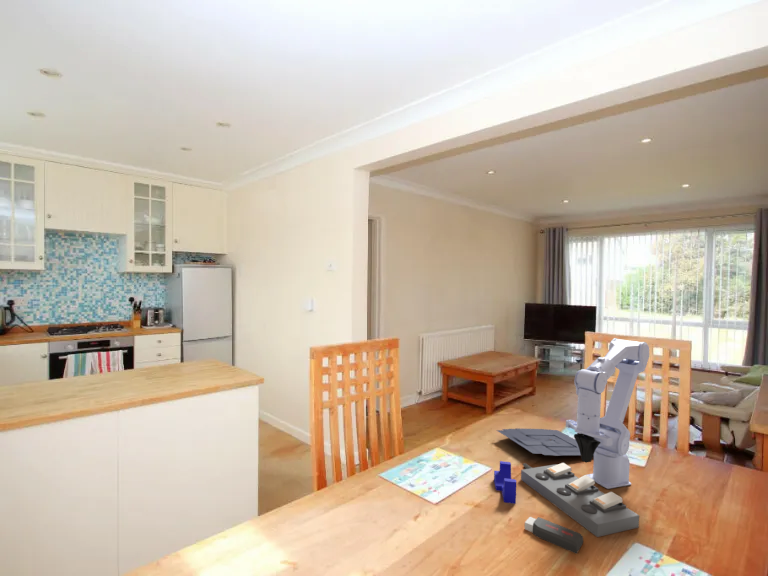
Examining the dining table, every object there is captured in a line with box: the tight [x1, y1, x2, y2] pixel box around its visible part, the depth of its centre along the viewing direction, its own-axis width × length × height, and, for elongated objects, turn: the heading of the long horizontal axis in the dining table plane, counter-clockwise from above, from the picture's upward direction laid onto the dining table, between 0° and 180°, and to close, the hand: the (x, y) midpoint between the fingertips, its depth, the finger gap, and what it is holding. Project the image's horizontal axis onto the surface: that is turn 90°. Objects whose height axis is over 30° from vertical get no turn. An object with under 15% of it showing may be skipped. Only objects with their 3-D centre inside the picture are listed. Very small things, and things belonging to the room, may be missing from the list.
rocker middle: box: [569, 474, 596, 492], centre depth 112 cm, size 6×3×1 cm, turn 109°
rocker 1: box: [547, 462, 572, 477], centre depth 120 cm, size 6×3×1 cm, turn 109°
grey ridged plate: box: [496, 427, 594, 457], centre depth 146 cm, size 24×30×4 cm
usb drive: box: [524, 516, 584, 554], centre depth 96 cm, size 5×12×3 cm, turn 50°
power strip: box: [520, 462, 640, 538], centre depth 114 cm, size 13×35×4 cm, turn 19°
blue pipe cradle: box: [493, 460, 517, 504], centre depth 115 cm, size 12×4×6 cm, turn 170°
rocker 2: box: [593, 491, 623, 509], centre depth 104 cm, size 6×3×1 cm, turn 109°
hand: (586, 461), depth 115 cm, fingers closed
